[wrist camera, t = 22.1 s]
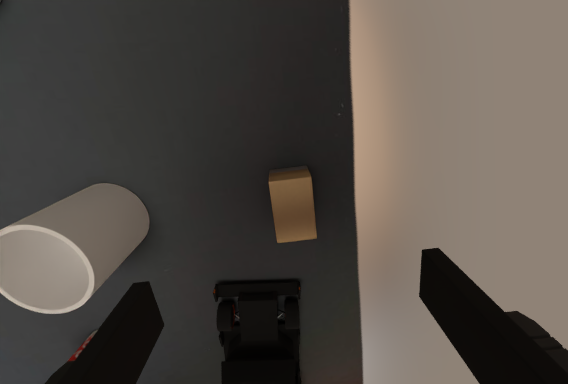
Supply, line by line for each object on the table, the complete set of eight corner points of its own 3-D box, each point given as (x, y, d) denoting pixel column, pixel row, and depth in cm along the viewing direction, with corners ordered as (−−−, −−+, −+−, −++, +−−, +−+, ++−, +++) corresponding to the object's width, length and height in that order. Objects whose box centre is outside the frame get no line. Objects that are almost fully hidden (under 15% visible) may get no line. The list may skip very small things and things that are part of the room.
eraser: (269, 169, 30) (268, 181, 25) (306, 165, 29) (311, 176, 25) (277, 223, 32) (277, 243, 27) (311, 219, 32) (316, 238, 27)
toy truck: (300, 277, 34) (306, 323, 27) (300, 390, 41) (304, 450, 34) (215, 280, 34) (200, 327, 27) (229, 393, 41) (219, 453, 34)
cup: (28, 204, 30) (-86, 254, 21) (129, 174, 29) (58, 212, 20) (67, 265, 33) (-17, 334, 23) (161, 239, 32) (113, 300, 22)
